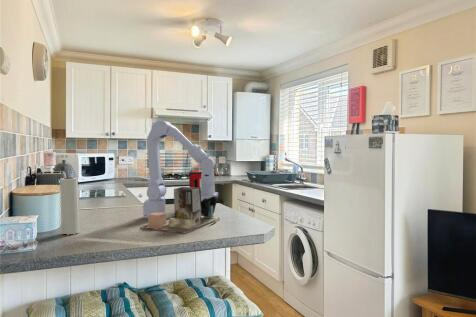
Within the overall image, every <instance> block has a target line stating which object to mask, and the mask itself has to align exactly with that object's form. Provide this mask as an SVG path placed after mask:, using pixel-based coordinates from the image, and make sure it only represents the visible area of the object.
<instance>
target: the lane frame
mask: <svg viewBox="0 0 476 317" xmlns="http://www.w3.org/2000/svg"><path fill="white" fill-rule="evenodd" d="M169 218H175V215H173V216H170V217H166V222H169ZM212 220H213V221H212ZM212 220H210V221H211V222H209V221H207V222H208V223H207V222H205V223H206V224H204V223H202V224H203V225H201V226H198V227H196V228H194V229H189V230H187V231H180V230H172V229H171V230H170V229H165V228H168V227H169V223H168V224H167V223H166V225H165V226H162V227H159V228H150V227H148V224H146V225H143V226H139V229H142V230H150V231H159V232H164V233H172V234H173V233H174V234H182V235H187V234H189V233H192V232H194V231H196V230H198V229H202V228H203V227H206V226H207V228H209V227H211V226H213V225H216V223H217V222H216V221H217V220H214V219H212ZM208 225H209V226H208Z"/></svg>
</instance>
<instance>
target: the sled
mask: <svg viewBox="0 0 476 317" xmlns="http://www.w3.org/2000/svg"><path fill="white" fill-rule="evenodd" d="M168 218H169V221H168V224H169V226H168V227H169V228H178V229H179V228H181V229H187V230H188V229H189V230H191V229H194V228H196V227H195V220H187V219H177V218H170V217H168ZM203 218H206V219H211V220H209V221H207V222H205V223H202V225H203V224H206V223H208V222H211V221H213V220H216V221H215V222H216V223H217V222H219V221H220V220H221V219H220V217H214V214H213V206H212V205H209V213H208V216H203V215H201V219H203ZM199 226H201V225H199ZM197 227H198V226H197Z"/></svg>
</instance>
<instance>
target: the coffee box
mask: <svg viewBox="0 0 476 317" xmlns="http://www.w3.org/2000/svg"><path fill="white" fill-rule="evenodd" d="M173 206H174V208H173V210H174V216H175V218H177V219H187V220H195V227H197V226H199V225H202V224H203V223H202V217H201V216H202V214H201V188H198V187H190V186H180V187H177V188H173Z"/></svg>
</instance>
